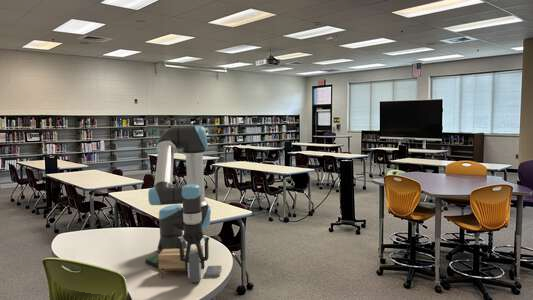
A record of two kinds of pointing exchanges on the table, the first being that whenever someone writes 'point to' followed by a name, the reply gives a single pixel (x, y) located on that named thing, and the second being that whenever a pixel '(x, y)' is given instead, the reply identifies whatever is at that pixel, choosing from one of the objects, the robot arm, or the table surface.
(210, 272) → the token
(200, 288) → the table surface
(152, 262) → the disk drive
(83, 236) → the table surface
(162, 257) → the cabinet
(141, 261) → the table surface
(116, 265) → the table surface
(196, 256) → the grey rectangular block
